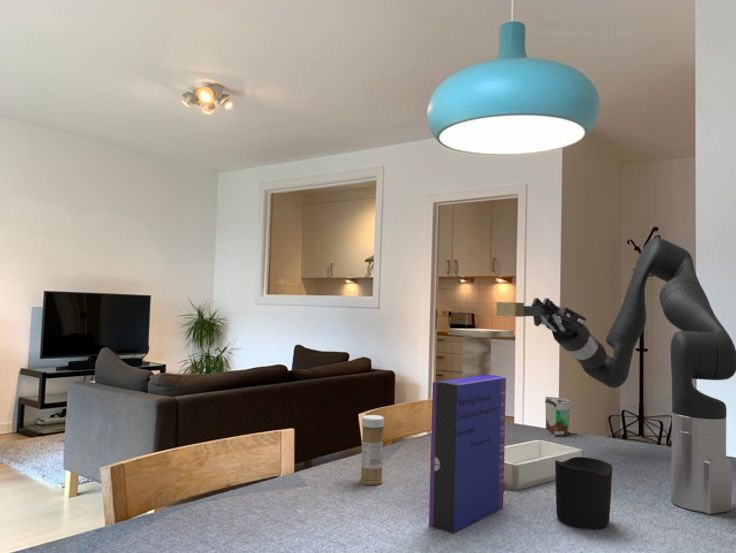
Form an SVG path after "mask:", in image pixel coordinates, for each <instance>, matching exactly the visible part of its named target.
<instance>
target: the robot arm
mask: <svg viewBox="0 0 736 553" xmlns="http://www.w3.org/2000/svg"><path fill="white" fill-rule="evenodd" d="M695 269H696V268H695V266H694V260H693V258H692V255H691V253H690V252H689V251H688V250H687V249H685V248H684V247H681V246H679V245H677V244H675V243H672V242H670V241H668V240H666V239H664V238H661V237H657V236H656V237H653V238H651V239H650V240H649V241H648V242H647V243H646V244H645V245H644V246H643V248H642V250H641V252H640V254H639V256H638V258H637V261H636V263H635V267H634V269H633V272H632V274H631V278H630V281H629V283H628V285H627V286H628V287H627V290H626V292H625V296H624V299H623V302H622V305H621V306H620V310H619V312H618V313H617V315H616V317H615V320H614V322H613V324H612V326H611V327H610V330H609V332H608V333H607V336H606V338H605V342H606V344H607V345H608V346H610V347H611V348H612V349H613V357H612V356H611V355H608V354H607V351H606V348H605V347H604V346H603V344H602V343H600V341H599V340H598V339H597V338H596V337H595V335H594V333H593V332H592V331H591V330H590V329H589V328H588V327H587V326H586V325H585V324H586V321H587V319H586V317H585V316H583V315H581V314H579V313H578V312H575V311H573V310H572V309H570V308H568V307H566V306H564V307H562V308H561V306H559V305H556V304H555V303H554V302H553V301H552V300H551V299H550V298H549V297H545V298H544V299H543V301H541V300H540V298H539V297H534V298H533V301H532V302H531V306H543V307H544V308H545V309H546V310H547V311H548V312H549V313H550V314H552V316H532V317H533V324H534V326H536V327H539V326H540V325H544V326H545V328H547V329H548V330H550V331H551V333H552V336H553V338H554V340H555V341H556V343H557V344H558V345H559V346H560V347H561V348H563V349H564V351H565V352H567V354H569V355H570V356H572V357H573V358H574V359H575V360H576V361H577V362H579V363H580V366H581V368H582V369H583V371H584V373H586V374H587V375H588V376H589V377H591V378H593V379H594V380H596V381H598V382H600V383H602V384H603V385H605V386H607V387H609V388H611V389H616V388H620V387H621V386H622V385H624V383H625V382H626V381H627V380H628V377H629V374H630V370H631V369H630V368H631V364H632V358H633V355H634V350H635V347H636V345H637V343H638V341H639V340H640V337H641V336H642V333H643V331H644V329H645V327H646V323H647V309H646V300H645V299H646V297H645V294H646V292H645V291H646V290H645V289H646V285H647V280H648V278H649V276H650V275H651V276H653V277H656V278H657V279H660V280H661V281H664V282H666V283H664V284H663V286H662V287H661V290H660V292H659V303H660V306H661V309H662V311H663V314H664V316H665V318H666V319H667V321H668V322H669V323H670V324H672V325H673V326H674V327H675V328H677V329H678V330H680V331H676V332H675V333H674V334H673V336H672V338H671V342H670V348H669V349H670V350H669V351H670V368H671V369H670V370H671V371H670V372H671V373H670V374H671V478H670V479H671V488H670V489H671V496H670V497H671V499H670V500H671V502H672V503H673V505H676V506H679V507H681V508H683V509H686V510H689V511H690V510H691V511H695V512H699V513H700V512H701V513H704V514H707V515H714V514H719V513H725V512H731V511H732V459H730V458H727V410H728V409H727V404H726V403H725V402H724V401H722V400H720V399H718V398H715V397H712V396H709V395H707V394H705V393H703V392H701V391H699V390H698V389H697V388H696V387H695V386H694V384H693V380H702V381H703V380H705V381H726V380H729V379H731V378H732V377H734V375H735V374H736V346H735V343H734V342H733V339H732V337H731V336H730V335H729V333H728V331H727V330H726V328H725V327H724V326H723V325H722V323H721V322H720V320H719V319H718V318H717V316H716V315H715V312H714V310H713V308H712V306H711V303H710V301H709V298H708V297H707V295H706V293H705V290H704V289H703V286H702V285H701V283H700V281H699V279H698V276H697V273H696V270H695Z"/></svg>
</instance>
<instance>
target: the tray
mask: <svg viewBox="0 0 736 553" xmlns="http://www.w3.org/2000/svg"><path fill="white" fill-rule="evenodd" d="M574 457H585V449H582V448H577V447H572V446H569V445H565V444H560V443H555V442H550V441H546V440H542V439H536V440H530V441H525V442H521V443H520V442H519V443H515V444H510V445H505V449H504V484H506V488H505V489H508V490H512V491H514V492H515V491H516V492H517V491H520V490H523V489H526V488H531V487H535V486H538V485H542V484H545V483H549V482H553V481H556V476H555V460H558V461H559V462H563V461H566V460H568V459H571V458H574Z"/></svg>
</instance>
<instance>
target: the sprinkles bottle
mask: <svg viewBox="0 0 736 553" xmlns="http://www.w3.org/2000/svg"><path fill="white" fill-rule="evenodd" d="M384 426H385V418H384V416H382V415H377V414H376V415H375V414H369V415H363V416H362V417H361V427H362V433H361V434H362V439H361V460H360V462H361V464H360V465H361V467H360V468H361V472H360V473H361V475H360V482H361V483H362V484H364V485H367V486H376V485H381V484H382V482H383V463H384V462H383V458H384V457H383V455H384V451H383V448H384V446H383V445H384V444H383V442H384V437H383V436H384V432H383V431H384Z"/></svg>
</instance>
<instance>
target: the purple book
mask: <svg viewBox="0 0 736 553" xmlns="http://www.w3.org/2000/svg"><path fill="white" fill-rule="evenodd" d="M506 391H507V377H504V376H500V375H494V374H492V375H491V374H490V375H480V376H473V377H466V378H462V377H460V378H454V379H453V378H452V379H447V380H440V381H433V382H432V395H431V396H432V398H431V399H432V400H431V433H430V436H431V437H430V438H431V439H430V468H429V469H430V474H429V475H430V476H429V477H430V478H429V508H428V510H429V512H428V513H429V514H428V527H431V528H434V529H437V530H441V531H443V532H447V533H449V534H450V533H451V534H453V535H454V534H456V533H458V532H460V531H462V530H465V529H466V528H468V527H469V526H471V525H473V524H475V523H477V522H479V521H481V520H483V519H485V518H487V517H489V516H491V515H492V514H494V513H496V512H498V511H500V510H502V509H504V497H505V496H504V494H505V493H504V491H505V490H504V449H505V446H506V445H505V443H506V442H505V438H506V403H507V402H506V400H507V398H506V396H507V394H506V393H507V392H506Z"/></svg>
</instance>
